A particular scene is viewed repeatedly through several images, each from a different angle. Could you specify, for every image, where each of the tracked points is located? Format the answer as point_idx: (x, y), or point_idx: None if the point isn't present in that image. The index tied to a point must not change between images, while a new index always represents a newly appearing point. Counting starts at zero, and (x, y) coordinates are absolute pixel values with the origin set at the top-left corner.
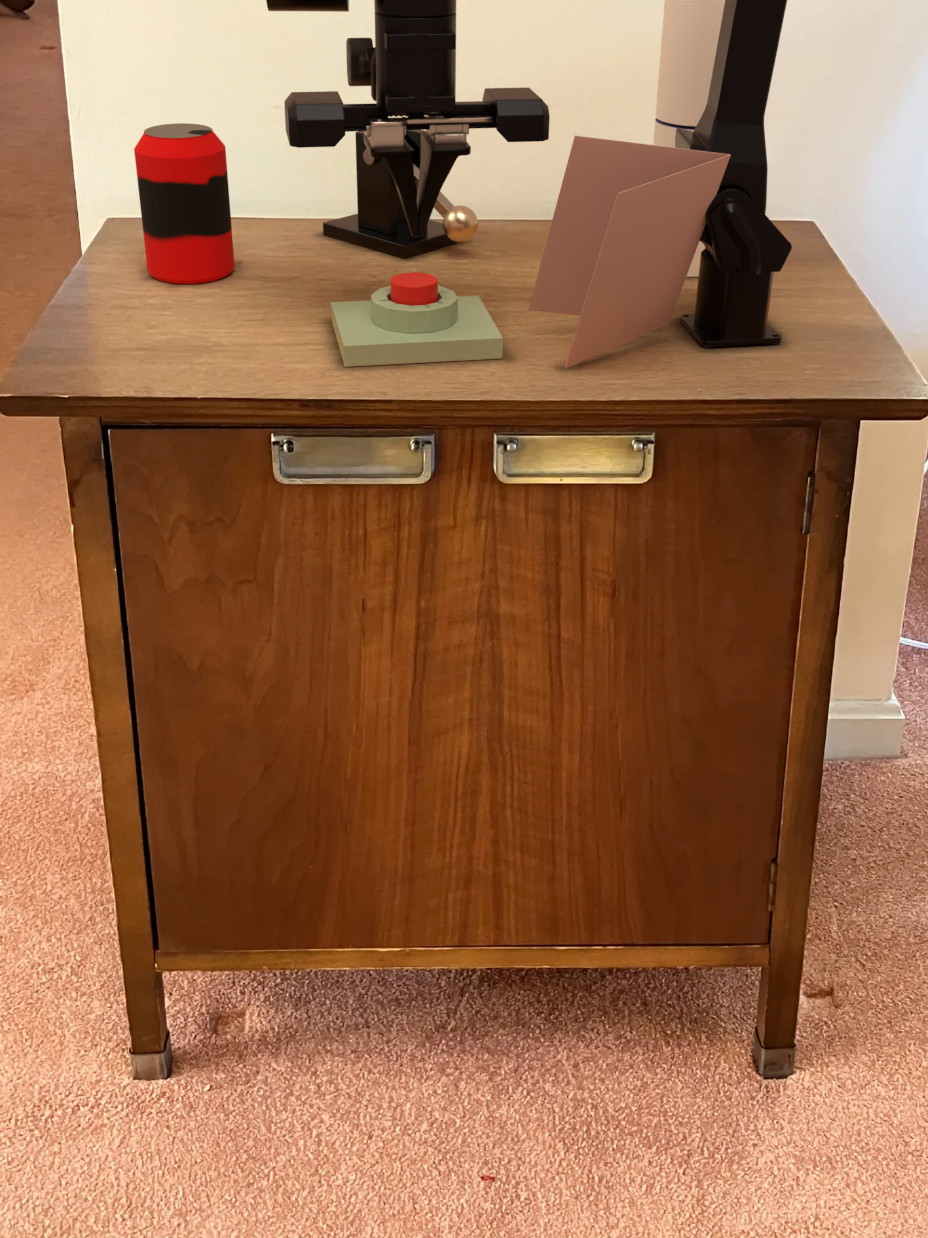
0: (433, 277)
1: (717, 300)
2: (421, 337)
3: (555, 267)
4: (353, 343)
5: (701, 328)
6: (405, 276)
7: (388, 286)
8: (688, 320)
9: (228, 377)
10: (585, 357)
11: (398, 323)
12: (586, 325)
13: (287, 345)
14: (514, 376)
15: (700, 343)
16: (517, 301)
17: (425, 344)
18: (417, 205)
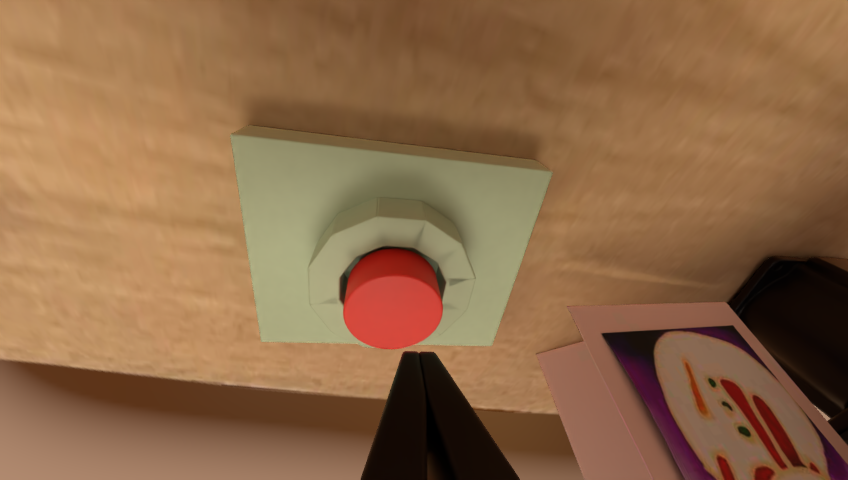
0: (436, 311)
1: (783, 362)
2: None
3: (633, 395)
4: (276, 338)
5: (742, 317)
6: (380, 298)
7: (353, 229)
8: (763, 281)
9: (93, 321)
10: (568, 349)
11: None
12: (576, 411)
13: (166, 222)
14: (473, 363)
15: None
16: (646, 96)
17: None
18: (431, 445)
